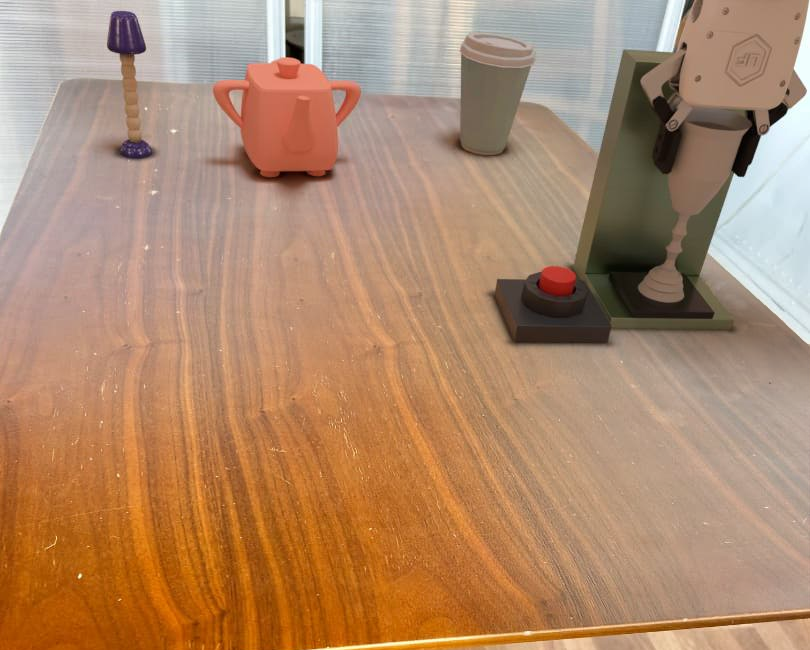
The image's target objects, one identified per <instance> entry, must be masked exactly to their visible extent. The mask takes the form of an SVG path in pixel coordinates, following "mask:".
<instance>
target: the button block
mask: <svg viewBox="0 0 810 650" xmlns="http://www.w3.org/2000/svg"><path fill="white" fill-rule="evenodd" d="M541 272H542V271H538V272H534V273H532V274H529V275H528V276H527V277H526V278H525V279H524V278H523V279H521V278H520V279H518V278H497V279H496V282H495V290H494V297H495V300H496V302H497V305H498V307H499V310H500V312H501V314H502V317H503V320H504V321H505V324H506V326H507V329H508V331H509V333H510V335H511V338H512V340H513V342H514V343H522V344H524V343H527V344H528V343H529V344H531V343H533V344H535V343H537V344H541V343H542V344H608V341H609V338H610V336H611V332H612V329H613V328H612V326H611V324H610V323H609V321H608V319H607V318H606V316H605V314H604V313H603V311H602V309H601V307H600V306H599V304H598V302H597V301H596V299H595V297H594V295H593V294H592V292H591V290H590V289H589V287H588V285H587V284H586V282H585V281H584V280H580V279H579V278H576V281H575V285H574V289H573V293H572V294H571V295H568V296H554V295H551V294H547V293H545V292H543V291H541V290H540V289H539V282H540V277H541Z"/></svg>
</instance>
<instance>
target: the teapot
mask: <svg viewBox="0 0 810 650" xmlns="http://www.w3.org/2000/svg"><path fill="white" fill-rule="evenodd" d="M236 90H237V91H238V90H239V91H240V90H241V91H242V93H241V94H242V96H241V104H240V114H239V113H238V111H237V110H236V108H235V105H234V104H233V102H232V101H231V98H230V92H231V91H236ZM333 91H343V92H345V97H344V100H343V102H342V104H341V106H340V108H339V109H338V111H337V112H336V106H335V100H334V94H333ZM212 93H213V97H214V100H215V101H216V103H217V104H218V106H219V107H220V109H221V110H222V111H223V113H225V115H227V117H228V118H229V119H230V120H231V121H232V122H233V123H234V124H235V125H236V126H238V127H239V129H240V136H241V140H242V144H243V147H244V149H245V152H246V155H247V157H248V159H249V160H250V162H251V163H252V164H253V165H254V166H255V167H256V168H257V169H258V170H259V171H260V172H259V174H260V175H261V176H262V177H265V178H275V177H278V176H280V174H281V172H306V174H308V175H309V176H313V177H322V176H325V175H326V171H329V170H332V169H333V168H334V167H335V164H336V161H337V158H338V153H339V136H338V135H339V133H338V127H339V126H341V125H342V123H343V122H344V121H345V120H346V119H347V118H348V117H349V116H350V114H352V112H353V110H354V109H355V108H356V106H357V105H358V103H359V100H360V98H361V95H362V88H361V86H360V85H359V84H358V83H357V82H355V81H351V80H344V79H343V80H339V79H338V80H329V79H328V77H327V76H326V74H325V73H324V72H323V71H322V70H321V69H320V68H319V67H318V66H317V65H315V64H313V63H301V61H300V59H297V58H294V57H287V56H285V57H279V58H277V59H274V60H272V61H271V62H253V63H252V62H251V63H249V64H248V65H247V67H246V69H245V76H244V79H222V80H219V81H216V82H215V83H214V84H213V86H212Z"/></svg>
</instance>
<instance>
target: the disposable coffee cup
mask: <svg viewBox="0 0 810 650" xmlns="http://www.w3.org/2000/svg"><path fill="white" fill-rule="evenodd" d="M459 53H460V115H459V116H460V117H459V118H460V125H459V127H460V129H459V141H460V143H461V144H460V145H461V147H462V148H463V149H464V150H465V151H467V152H469V153H472V154H475V155H482V156H496V155H499V154H502V153H503V151H504V150H505V148H506V145H507V143H508V139H509V136H510V133H511V130H512V127H513V124H514V121H515V119H516V118H515V117H516V115H517V111H518V108H519V105H520V103H521V99H522V95H523V93H524V90H525V87H526V83H527V81H528V78H529V74H530V71H531V69H532V66H534V65H535V62H536V51H535V50H534V46H533V45H532V44H530V43H529V42H527V41H525V40H523V39H520V38H517V37H513V36H510V35H504V34H499V33H492V32H479V31H478V32H469V33H467V35H465V38H464V39H463V40H462V42H461V44H460V50H459Z"/></svg>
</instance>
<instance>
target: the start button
mask: <svg viewBox="0 0 810 650" xmlns="http://www.w3.org/2000/svg"><path fill="white" fill-rule="evenodd" d="M540 272H541V277H540V282H539V289H540V290H541V291H543V292H545V293H547V294H551V295H554V296H568V295H571V294H572V293H573V289H574V285H575V281H576V279H577V274H576V272H575V271H573V270H571V269H570V268H568V267H567V268H566V267H563V266H560V265H559V266H558V265H552V266H551V265H550V266H546V267H544V268H543V269H542V270H541V271H540Z"/></svg>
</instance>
